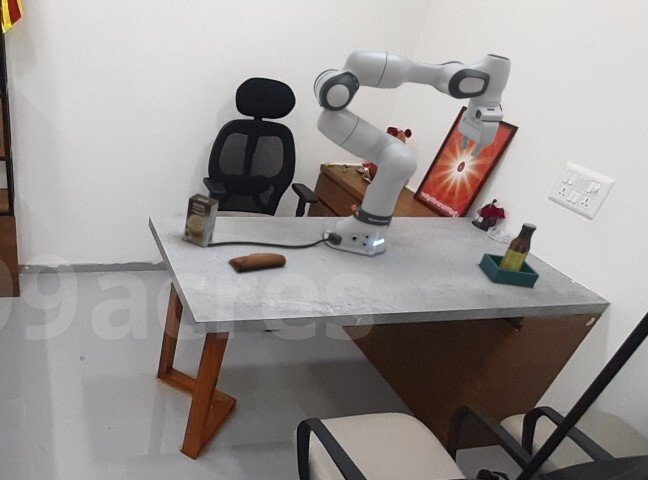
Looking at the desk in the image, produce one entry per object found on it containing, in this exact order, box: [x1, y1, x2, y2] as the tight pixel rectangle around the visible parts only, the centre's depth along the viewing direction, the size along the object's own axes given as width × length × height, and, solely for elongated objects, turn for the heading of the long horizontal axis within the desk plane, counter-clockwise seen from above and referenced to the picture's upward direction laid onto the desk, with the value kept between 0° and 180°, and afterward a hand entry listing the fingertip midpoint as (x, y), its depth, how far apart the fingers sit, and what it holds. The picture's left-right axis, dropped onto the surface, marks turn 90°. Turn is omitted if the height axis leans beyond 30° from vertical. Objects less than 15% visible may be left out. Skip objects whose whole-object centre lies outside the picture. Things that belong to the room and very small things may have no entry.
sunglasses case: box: [229, 252, 287, 273], centre depth 174 cm, size 18×7×7 cm, turn 113°
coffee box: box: [183, 193, 220, 248], centre depth 182 cm, size 9×6×16 cm
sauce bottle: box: [499, 222, 538, 272], centre depth 180 cm, size 6×6×20 cm
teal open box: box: [478, 252, 540, 289], centre depth 184 cm, size 14×13×5 cm
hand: (468, 152), depth 174 cm, fingers open, 8 cm apart
